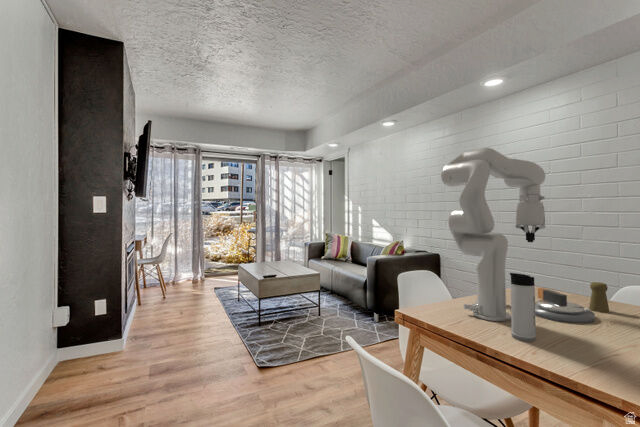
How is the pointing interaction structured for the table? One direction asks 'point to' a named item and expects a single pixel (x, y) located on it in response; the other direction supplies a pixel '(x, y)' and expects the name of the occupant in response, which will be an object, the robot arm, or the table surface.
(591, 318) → the dial base
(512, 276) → the travel mug
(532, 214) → the robot arm
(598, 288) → the cork
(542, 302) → the dial
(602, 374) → the table surface
